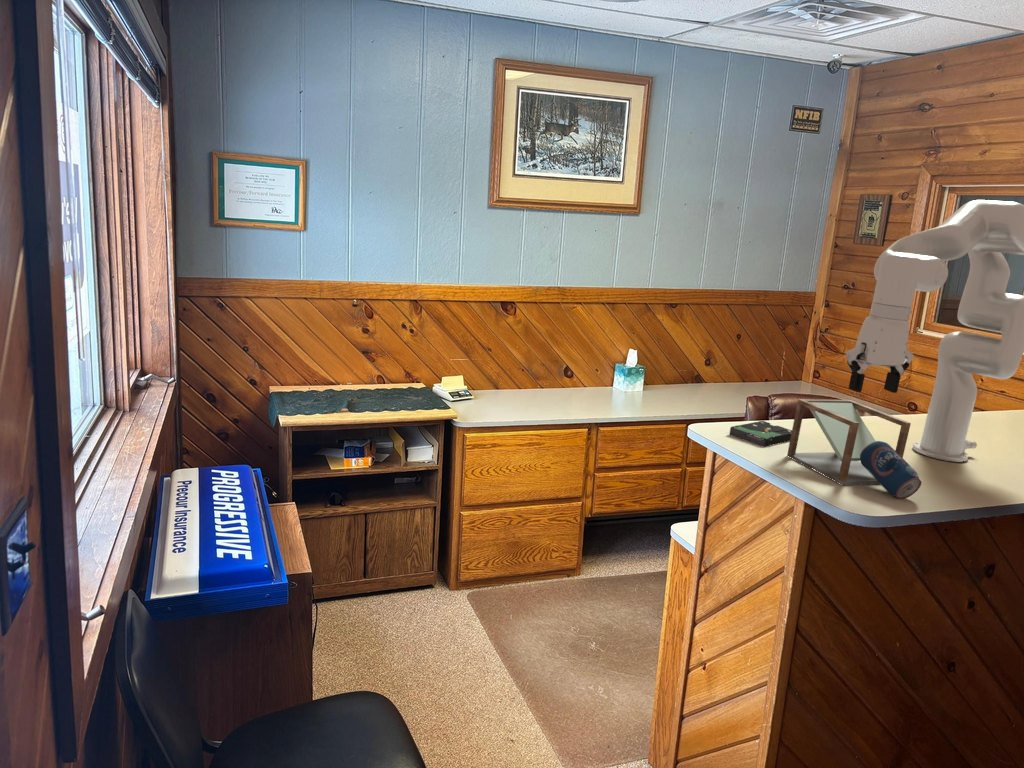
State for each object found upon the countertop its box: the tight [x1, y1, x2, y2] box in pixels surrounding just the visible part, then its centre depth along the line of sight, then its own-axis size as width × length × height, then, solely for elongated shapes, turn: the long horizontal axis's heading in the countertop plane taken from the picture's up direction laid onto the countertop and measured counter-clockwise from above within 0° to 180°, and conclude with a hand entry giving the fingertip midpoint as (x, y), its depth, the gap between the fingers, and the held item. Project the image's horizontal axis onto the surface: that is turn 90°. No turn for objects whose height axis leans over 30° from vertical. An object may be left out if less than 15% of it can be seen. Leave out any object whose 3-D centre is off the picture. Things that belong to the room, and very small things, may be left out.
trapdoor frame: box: [786, 398, 912, 485], centre depth 172 cm, size 18×15×14 cm
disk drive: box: [729, 420, 792, 448], centre depth 193 cm, size 10×3×15 cm
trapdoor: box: [808, 402, 876, 462], centre depth 172 cm, size 16×12×1 cm
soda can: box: [859, 440, 922, 500], centre depth 161 cm, size 7×7×12 cm
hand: (872, 390), depth 165 cm, fingers open, 9 cm apart
